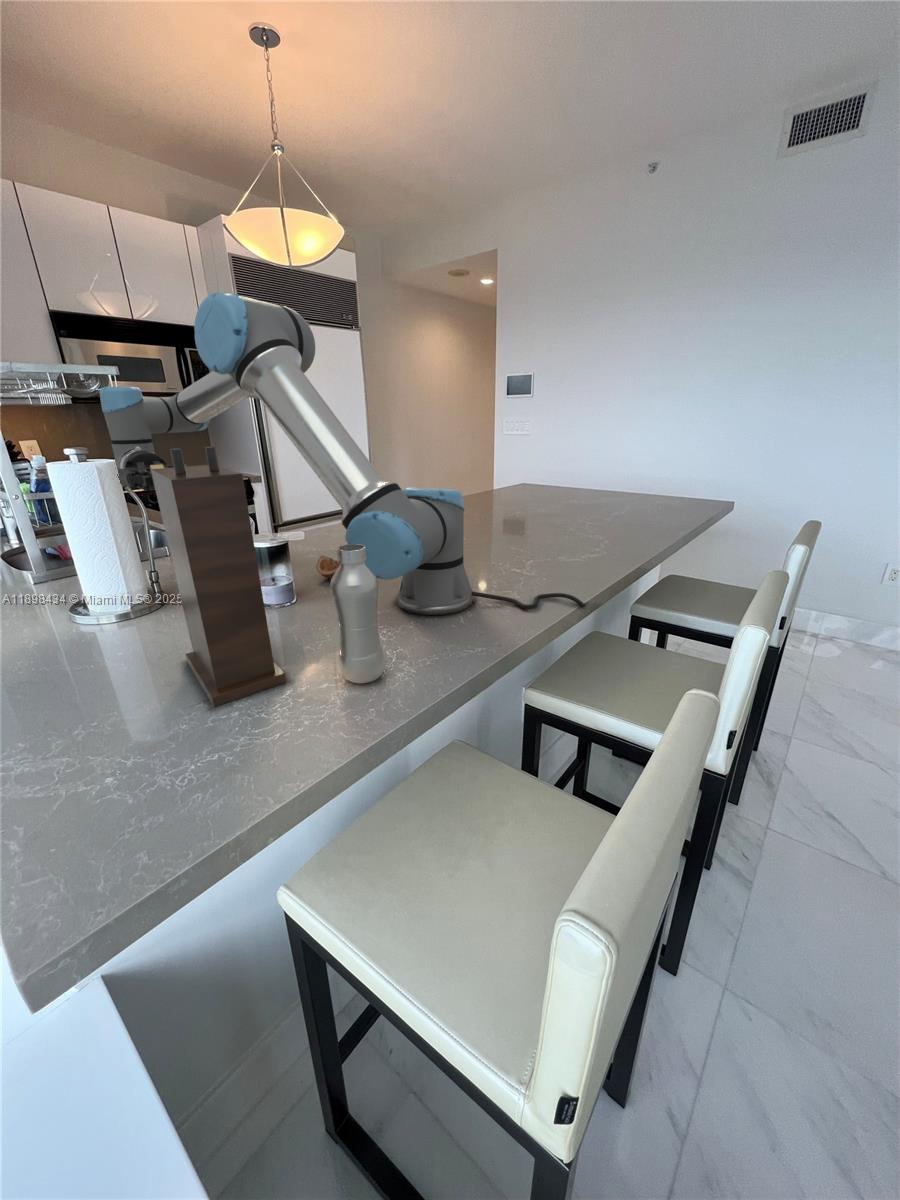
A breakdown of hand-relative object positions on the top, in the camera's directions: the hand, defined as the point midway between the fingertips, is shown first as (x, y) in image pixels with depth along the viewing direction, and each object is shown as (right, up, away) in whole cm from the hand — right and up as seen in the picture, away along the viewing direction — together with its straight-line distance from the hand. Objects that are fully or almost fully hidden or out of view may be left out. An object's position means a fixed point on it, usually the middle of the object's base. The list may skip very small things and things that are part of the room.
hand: (167, 482), depth 82 cm
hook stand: (+14, -31, -7) cm, 35 cm away
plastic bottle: (+34, -31, -9) cm, 47 cm away
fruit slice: (+20, -15, +33) cm, 42 cm away
